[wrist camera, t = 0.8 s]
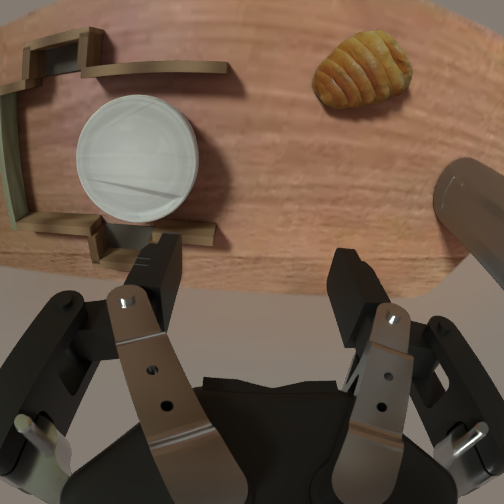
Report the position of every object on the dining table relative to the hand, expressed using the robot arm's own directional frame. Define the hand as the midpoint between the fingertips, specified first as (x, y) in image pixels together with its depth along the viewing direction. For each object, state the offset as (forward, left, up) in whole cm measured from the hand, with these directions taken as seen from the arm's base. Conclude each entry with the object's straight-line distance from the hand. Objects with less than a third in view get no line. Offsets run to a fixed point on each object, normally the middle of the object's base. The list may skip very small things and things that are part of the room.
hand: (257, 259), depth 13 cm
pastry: (-9, -10, -18) cm, 23 cm away
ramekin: (+10, 0, -18) cm, 21 cm away
